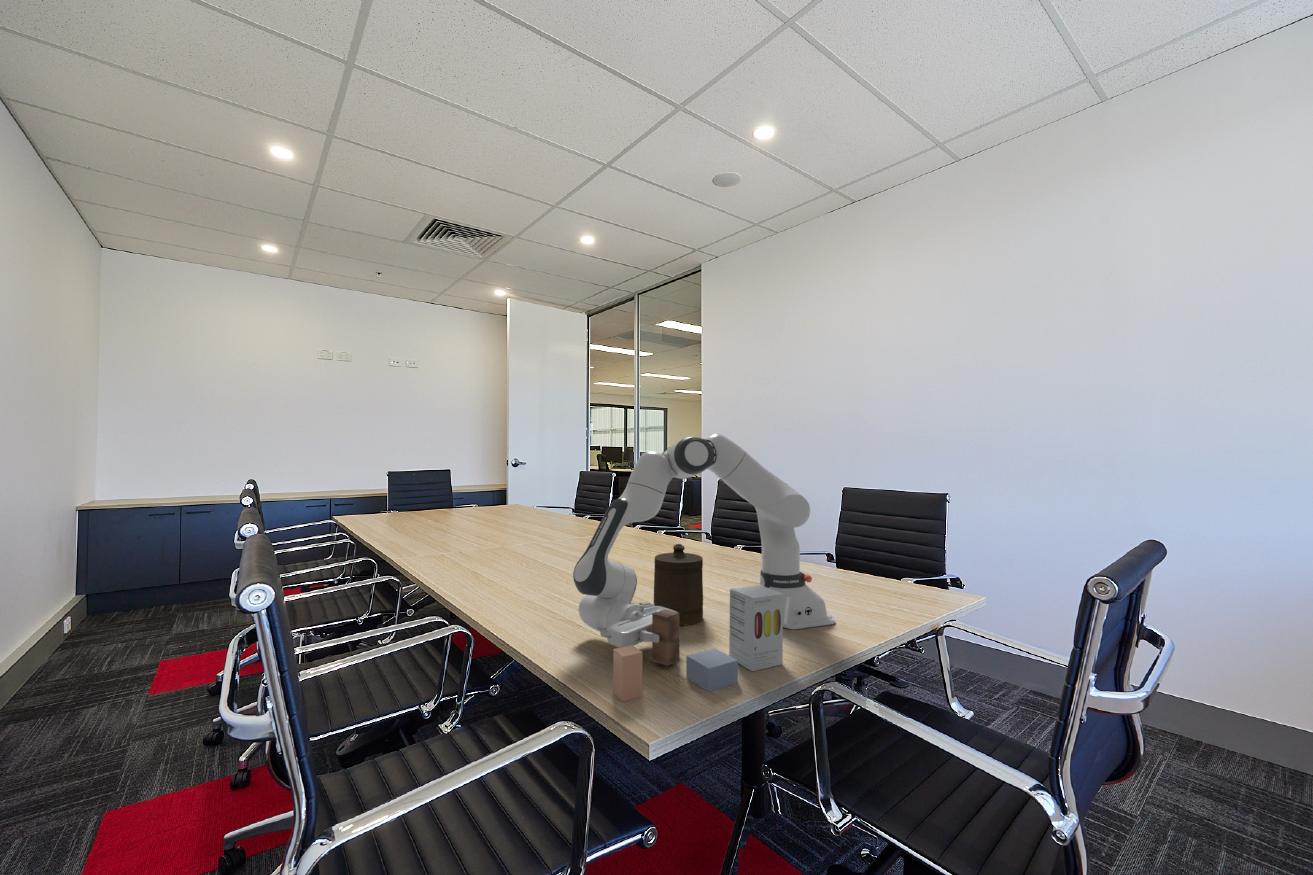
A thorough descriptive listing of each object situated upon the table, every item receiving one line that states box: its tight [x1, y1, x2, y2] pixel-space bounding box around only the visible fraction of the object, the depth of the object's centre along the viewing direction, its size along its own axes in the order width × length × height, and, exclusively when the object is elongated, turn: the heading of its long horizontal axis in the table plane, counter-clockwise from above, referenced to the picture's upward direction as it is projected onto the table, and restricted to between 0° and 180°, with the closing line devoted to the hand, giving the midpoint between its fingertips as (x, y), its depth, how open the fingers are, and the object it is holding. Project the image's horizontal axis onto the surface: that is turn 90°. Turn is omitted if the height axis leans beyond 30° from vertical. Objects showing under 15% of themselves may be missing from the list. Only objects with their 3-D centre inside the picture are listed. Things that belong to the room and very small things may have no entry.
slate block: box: [685, 647, 739, 692], centre depth 113 cm, size 8×8×5 cm
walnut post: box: [651, 609, 680, 667], centre depth 121 cm, size 4×4×11 cm
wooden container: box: [653, 543, 704, 627], centre depth 155 cm, size 15×15×22 cm
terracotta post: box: [612, 645, 644, 702], centre depth 106 cm, size 4×4×9 cm
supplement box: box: [728, 584, 784, 672], centre depth 123 cm, size 10×9×17 cm
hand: (668, 635), depth 120 cm, fingers closed on walnut post, 4 cm apart
